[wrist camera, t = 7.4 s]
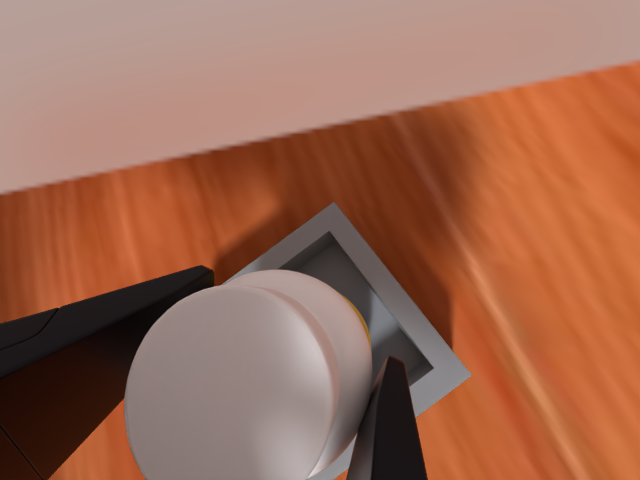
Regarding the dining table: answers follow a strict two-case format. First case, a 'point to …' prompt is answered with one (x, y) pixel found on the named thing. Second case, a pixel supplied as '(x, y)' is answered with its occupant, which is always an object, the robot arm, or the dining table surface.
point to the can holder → (368, 308)
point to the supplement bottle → (249, 381)
